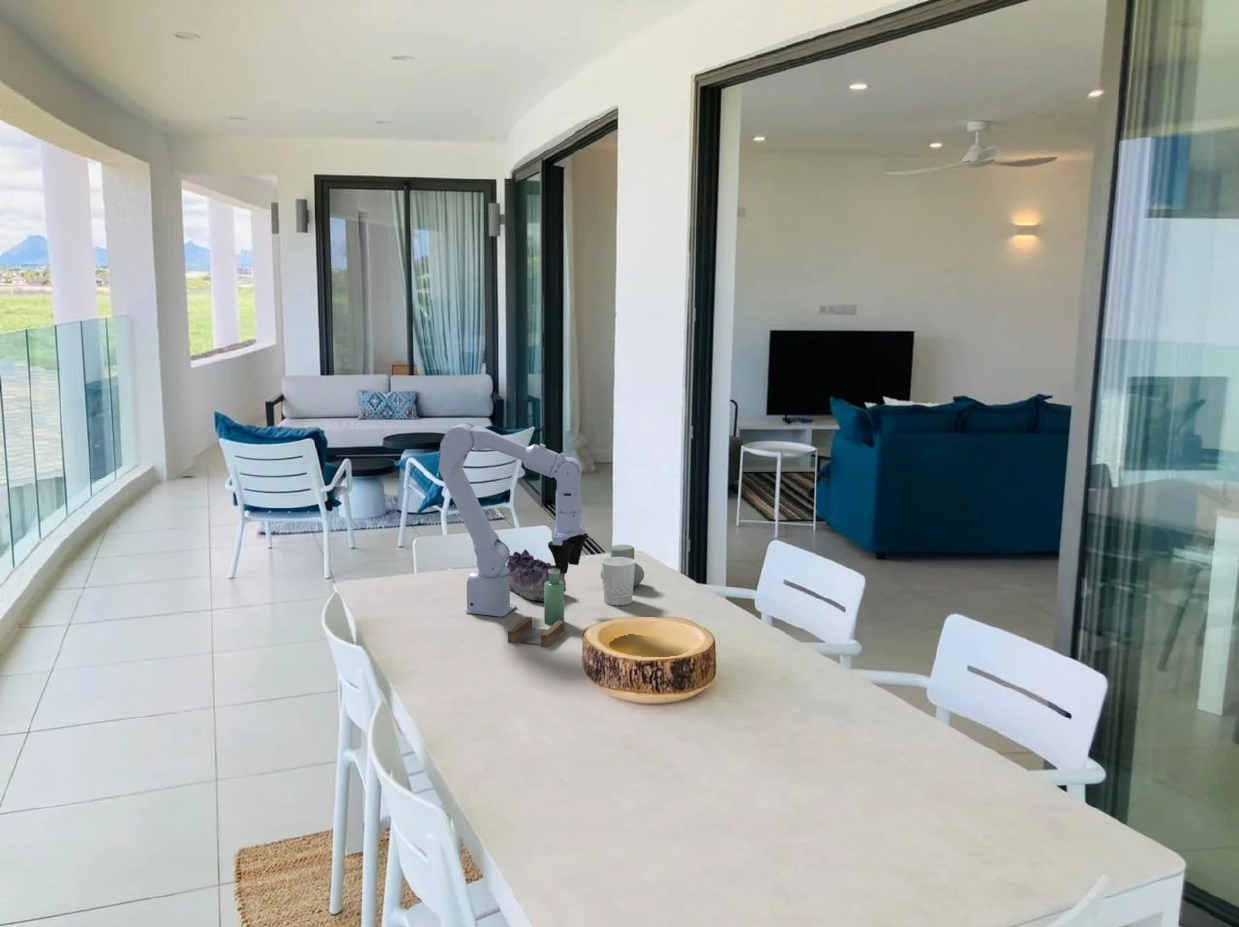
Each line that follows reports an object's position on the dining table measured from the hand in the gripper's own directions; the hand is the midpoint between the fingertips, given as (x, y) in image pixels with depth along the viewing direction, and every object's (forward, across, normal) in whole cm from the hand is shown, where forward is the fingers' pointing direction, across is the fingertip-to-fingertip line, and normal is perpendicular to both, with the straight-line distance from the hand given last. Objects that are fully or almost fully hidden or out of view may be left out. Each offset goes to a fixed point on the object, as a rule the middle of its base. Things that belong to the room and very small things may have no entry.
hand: (568, 568), depth 231 cm
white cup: (+10, +11, -9) cm, 18 cm away
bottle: (+10, -8, 0) cm, 13 cm away
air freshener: (+10, +24, -6) cm, 27 cm away
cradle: (+10, -18, 0) cm, 21 cm away
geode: (+11, +12, +14) cm, 22 cm away
